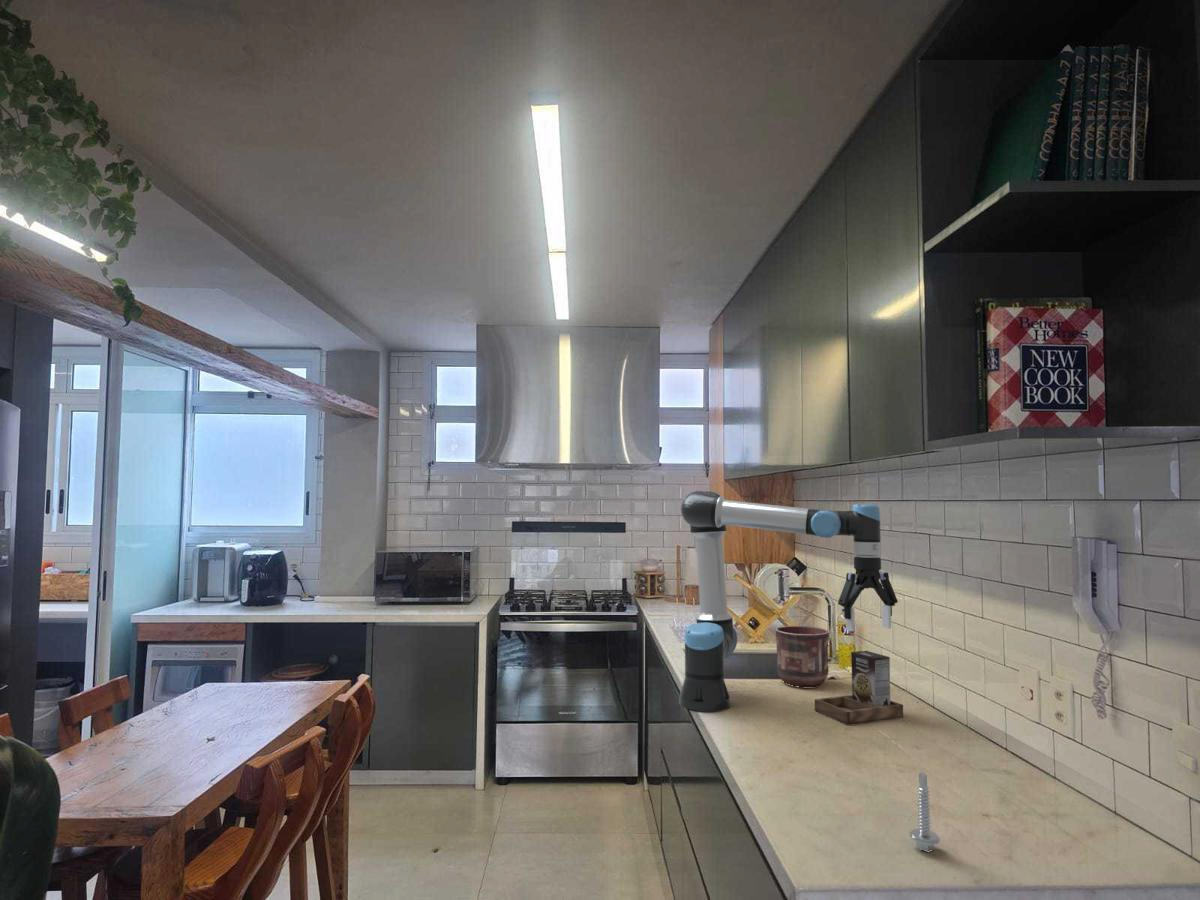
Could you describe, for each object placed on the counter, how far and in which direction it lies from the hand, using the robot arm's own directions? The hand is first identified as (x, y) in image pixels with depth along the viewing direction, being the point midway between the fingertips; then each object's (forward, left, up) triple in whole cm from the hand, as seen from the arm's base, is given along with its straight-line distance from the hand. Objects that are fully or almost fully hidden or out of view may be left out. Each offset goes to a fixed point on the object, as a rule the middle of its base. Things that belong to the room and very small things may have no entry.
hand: (868, 629), depth 201 cm
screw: (-50, -66, -24) cm, 86 cm away
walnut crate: (-5, 0, -24) cm, 24 cm away
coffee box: (0, 0, -23) cm, 23 cm away
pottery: (+2, +34, -24) cm, 42 cm away
